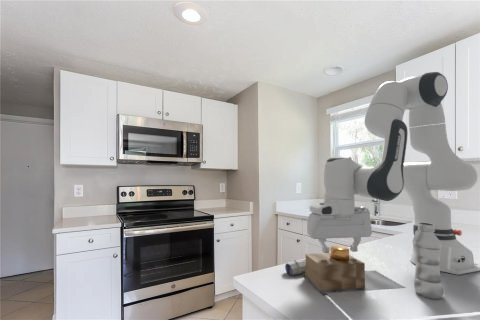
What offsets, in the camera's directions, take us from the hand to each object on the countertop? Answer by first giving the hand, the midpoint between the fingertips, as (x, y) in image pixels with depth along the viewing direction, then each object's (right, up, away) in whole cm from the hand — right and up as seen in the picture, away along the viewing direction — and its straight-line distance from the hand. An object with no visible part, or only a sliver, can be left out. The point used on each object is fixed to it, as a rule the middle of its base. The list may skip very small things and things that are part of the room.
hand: (339, 251), depth 77 cm
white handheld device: (-3, -11, +9) cm, 14 cm away
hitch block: (+4, -10, 0) cm, 10 cm away
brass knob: (0, -8, -1) cm, 8 cm away
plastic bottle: (+21, -10, -8) cm, 25 cm away
